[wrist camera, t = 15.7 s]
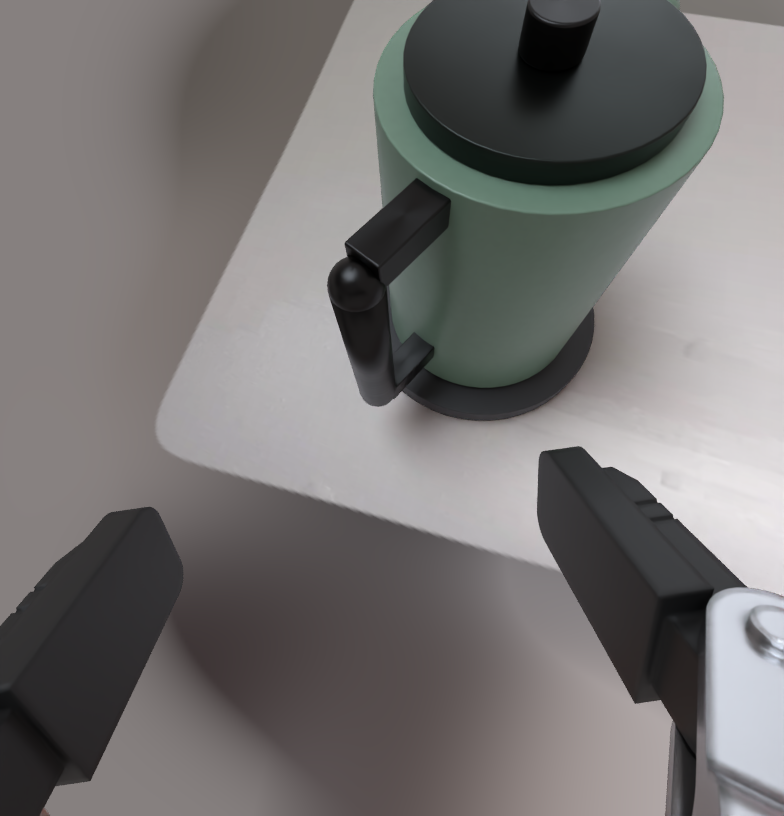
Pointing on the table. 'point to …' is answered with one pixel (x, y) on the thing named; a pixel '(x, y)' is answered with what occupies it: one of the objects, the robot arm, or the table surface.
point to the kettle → (515, 180)
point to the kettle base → (504, 398)
